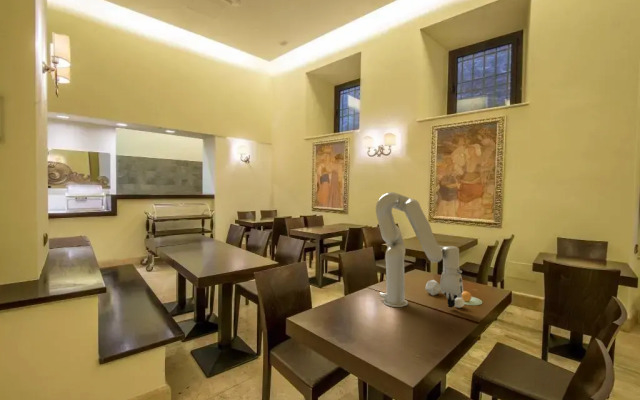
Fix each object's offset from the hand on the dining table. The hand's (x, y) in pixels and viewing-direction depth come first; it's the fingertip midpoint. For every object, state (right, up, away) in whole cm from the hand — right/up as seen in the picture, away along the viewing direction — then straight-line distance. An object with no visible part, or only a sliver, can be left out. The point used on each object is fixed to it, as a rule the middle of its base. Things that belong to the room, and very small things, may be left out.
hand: (451, 306), depth 153 cm
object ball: (+13, +2, +11) cm, 17 cm away
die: (0, -1, +24) cm, 24 cm away
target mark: (+15, -1, +12) cm, 19 cm away
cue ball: (+5, +1, +3) cm, 6 cm away
